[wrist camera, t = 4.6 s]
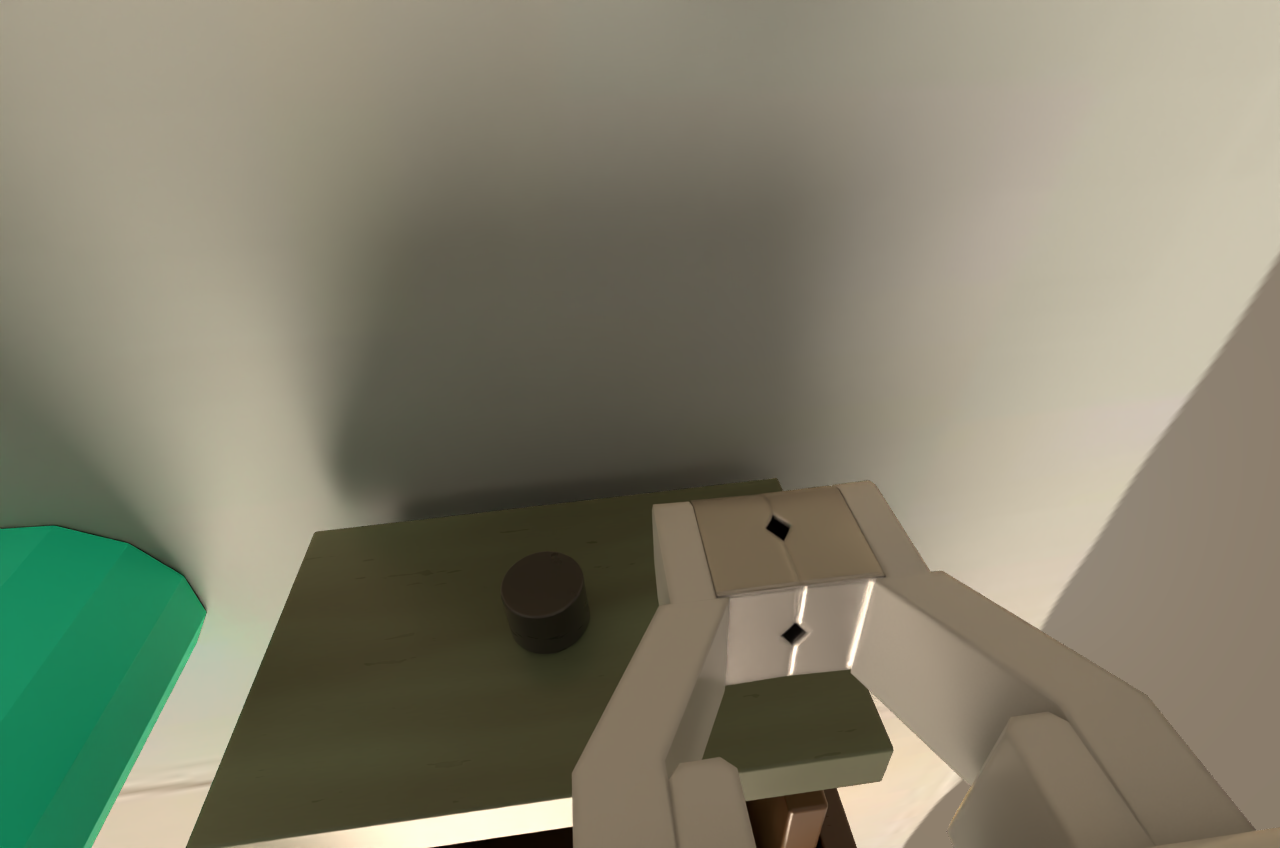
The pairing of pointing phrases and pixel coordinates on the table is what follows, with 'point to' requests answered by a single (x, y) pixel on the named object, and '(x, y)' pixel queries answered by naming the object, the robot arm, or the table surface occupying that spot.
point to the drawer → (495, 689)
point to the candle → (81, 675)
